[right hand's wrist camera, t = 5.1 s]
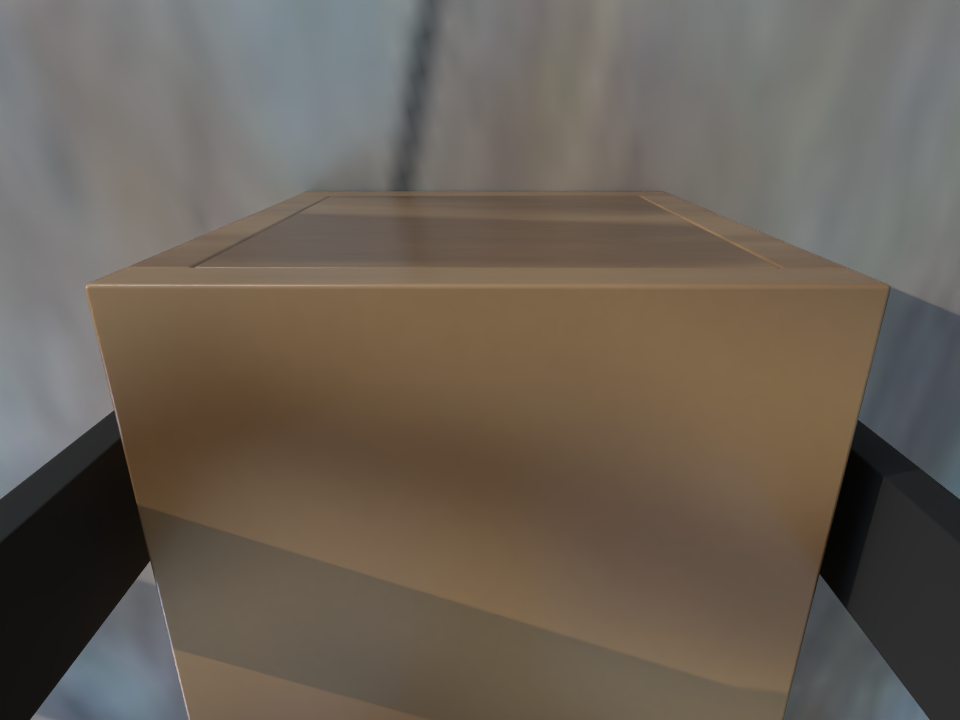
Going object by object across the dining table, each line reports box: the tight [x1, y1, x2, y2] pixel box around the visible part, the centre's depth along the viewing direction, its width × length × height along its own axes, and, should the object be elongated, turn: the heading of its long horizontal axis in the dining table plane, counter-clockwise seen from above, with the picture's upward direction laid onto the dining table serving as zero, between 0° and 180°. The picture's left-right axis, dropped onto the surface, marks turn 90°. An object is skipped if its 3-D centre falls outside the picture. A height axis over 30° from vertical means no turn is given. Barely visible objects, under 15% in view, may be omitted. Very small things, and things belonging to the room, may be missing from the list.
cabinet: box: [85, 191, 890, 720], centre depth 18 cm, size 21×11×11 cm, turn 0°
